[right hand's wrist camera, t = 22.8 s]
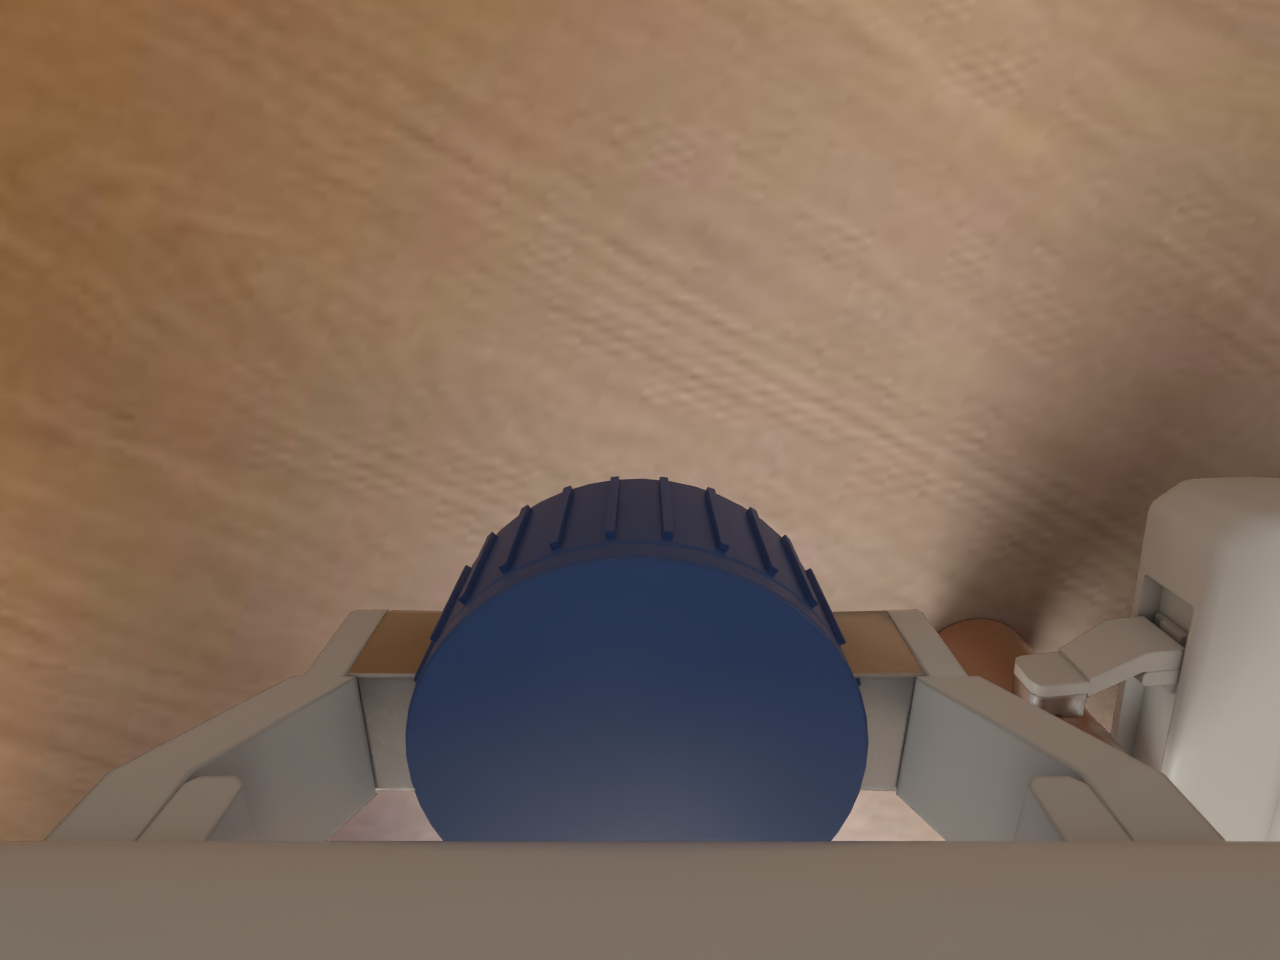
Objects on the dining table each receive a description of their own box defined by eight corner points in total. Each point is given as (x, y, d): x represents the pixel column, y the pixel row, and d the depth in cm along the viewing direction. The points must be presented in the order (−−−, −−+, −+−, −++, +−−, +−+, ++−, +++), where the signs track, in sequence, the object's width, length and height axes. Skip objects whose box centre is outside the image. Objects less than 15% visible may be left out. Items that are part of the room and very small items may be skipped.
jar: (991, 597, 30) (1354, 984, 15) (1045, 671, 31) (1427, 1093, 16) (893, 659, 31) (1141, 1079, 16) (950, 728, 33) (1226, 1173, 17)
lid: (601, 844, 12) (592, 987, 10) (368, 611, 10) (294, 721, 8) (894, 683, 11) (960, 803, 8) (684, 391, 9) (698, 447, 7)
